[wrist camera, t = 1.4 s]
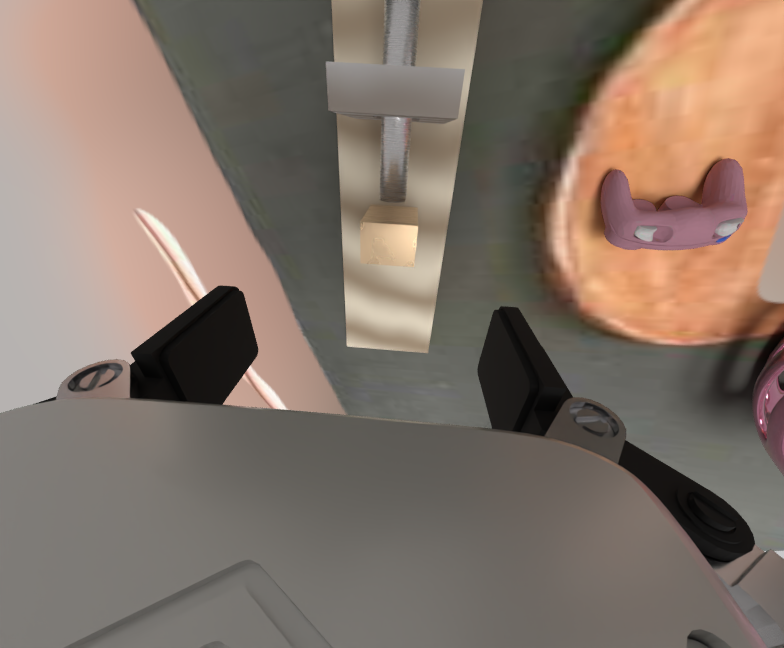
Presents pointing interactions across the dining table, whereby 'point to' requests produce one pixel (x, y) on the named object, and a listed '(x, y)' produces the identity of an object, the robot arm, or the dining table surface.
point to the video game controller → (675, 213)
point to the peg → (394, 154)
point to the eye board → (426, 157)
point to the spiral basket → (771, 406)
